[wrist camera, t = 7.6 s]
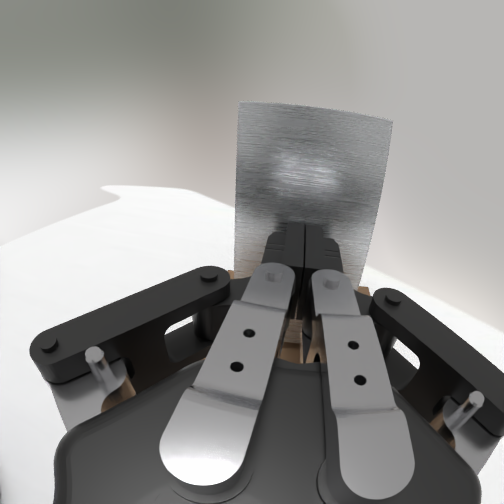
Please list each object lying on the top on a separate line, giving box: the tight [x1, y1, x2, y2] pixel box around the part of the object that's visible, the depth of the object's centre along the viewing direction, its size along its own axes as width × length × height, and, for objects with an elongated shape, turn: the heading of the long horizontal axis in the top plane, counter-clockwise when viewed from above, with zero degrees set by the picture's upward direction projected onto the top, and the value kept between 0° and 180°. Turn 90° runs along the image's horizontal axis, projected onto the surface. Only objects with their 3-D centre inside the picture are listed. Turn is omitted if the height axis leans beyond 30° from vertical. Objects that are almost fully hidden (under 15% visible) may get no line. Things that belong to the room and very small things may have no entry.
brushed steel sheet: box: [234, 101, 393, 343], centre depth 14 cm, size 9×2×12 cm, turn 81°
